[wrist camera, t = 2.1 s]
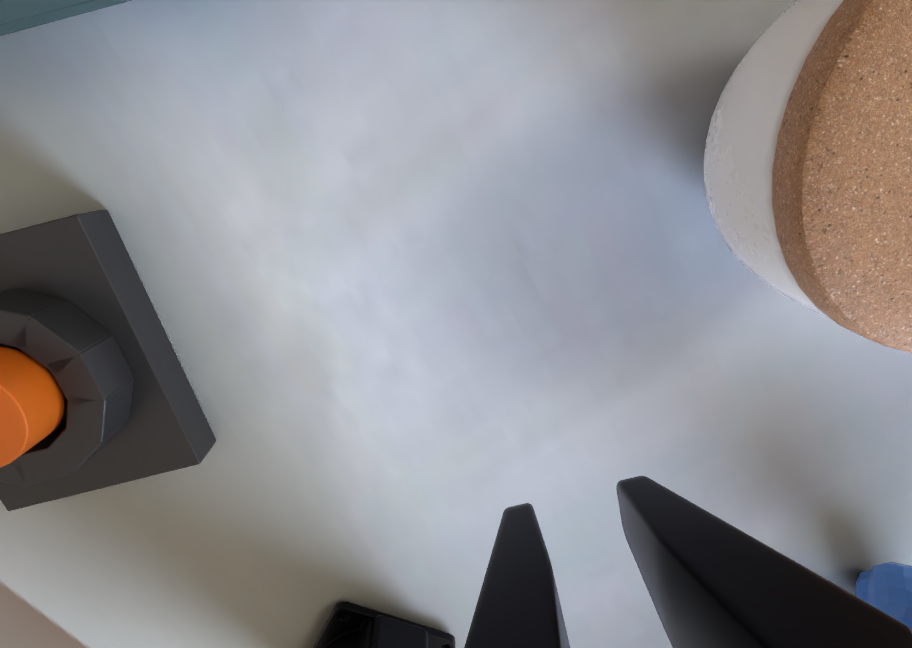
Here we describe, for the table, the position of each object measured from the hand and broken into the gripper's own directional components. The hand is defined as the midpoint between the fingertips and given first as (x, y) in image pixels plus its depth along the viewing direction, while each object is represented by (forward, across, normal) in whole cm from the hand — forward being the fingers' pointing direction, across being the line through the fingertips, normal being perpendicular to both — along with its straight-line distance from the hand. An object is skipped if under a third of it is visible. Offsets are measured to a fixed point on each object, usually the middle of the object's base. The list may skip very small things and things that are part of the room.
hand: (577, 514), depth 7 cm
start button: (+10, +16, -1) cm, 19 cm away
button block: (+13, +16, -1) cm, 21 cm away
